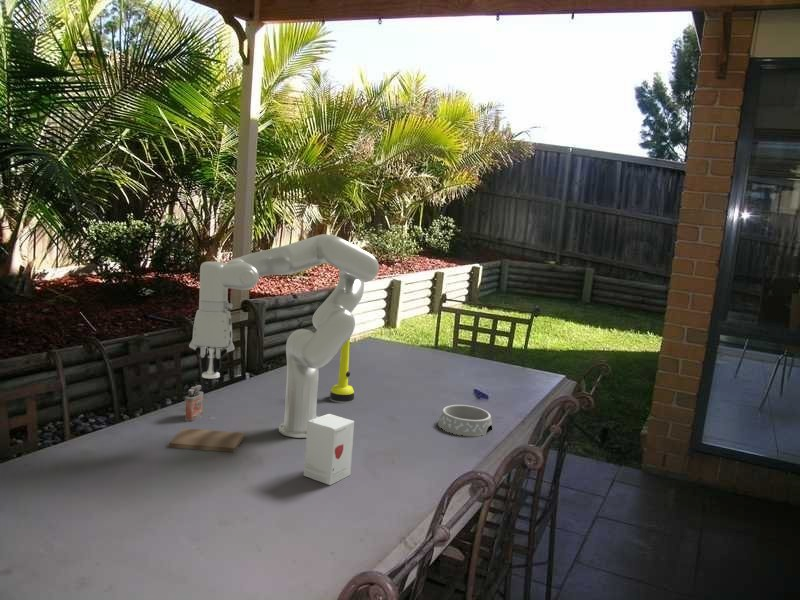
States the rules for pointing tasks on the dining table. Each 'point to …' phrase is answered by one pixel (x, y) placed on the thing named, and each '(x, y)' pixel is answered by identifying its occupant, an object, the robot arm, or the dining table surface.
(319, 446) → the supplement box
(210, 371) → the chess piece
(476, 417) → the dog bowl
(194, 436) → the walnut board
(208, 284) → the robot arm
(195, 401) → the lighter
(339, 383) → the flashlight
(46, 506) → the dining table surface
